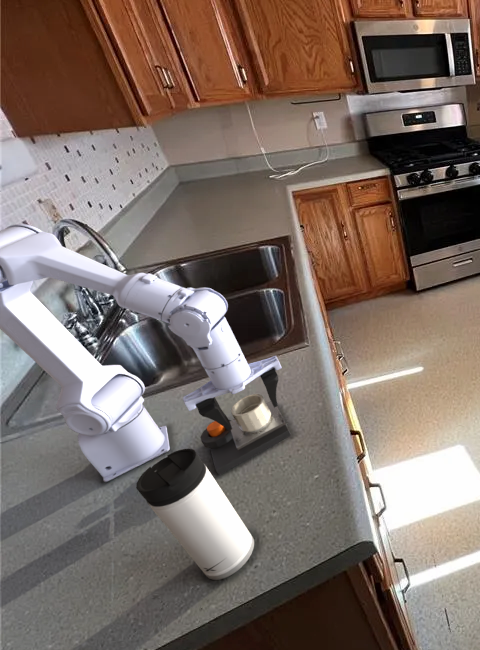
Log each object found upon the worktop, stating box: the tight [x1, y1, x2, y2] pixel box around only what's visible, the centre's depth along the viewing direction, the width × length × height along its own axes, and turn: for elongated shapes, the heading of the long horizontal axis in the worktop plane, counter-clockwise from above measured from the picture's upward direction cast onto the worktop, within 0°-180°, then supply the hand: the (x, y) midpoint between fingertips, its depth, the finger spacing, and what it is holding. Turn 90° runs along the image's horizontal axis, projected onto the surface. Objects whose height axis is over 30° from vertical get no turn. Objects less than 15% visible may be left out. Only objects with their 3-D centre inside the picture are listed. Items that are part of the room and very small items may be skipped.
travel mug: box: [135, 448, 255, 581], centre depth 55 cm, size 6×7×20 cm
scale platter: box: [230, 400, 287, 450], centre depth 77 cm, size 8×8×1 cm
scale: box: [199, 418, 292, 476], centre depth 78 cm, size 13×11×3 cm
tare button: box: [206, 420, 225, 437], centre depth 77 cm, size 2×2×2 cm
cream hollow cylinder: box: [230, 393, 271, 432], centre depth 76 cm, size 5×5×4 cm
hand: (252, 415), depth 76 cm, fingers open, 7 cm apart
